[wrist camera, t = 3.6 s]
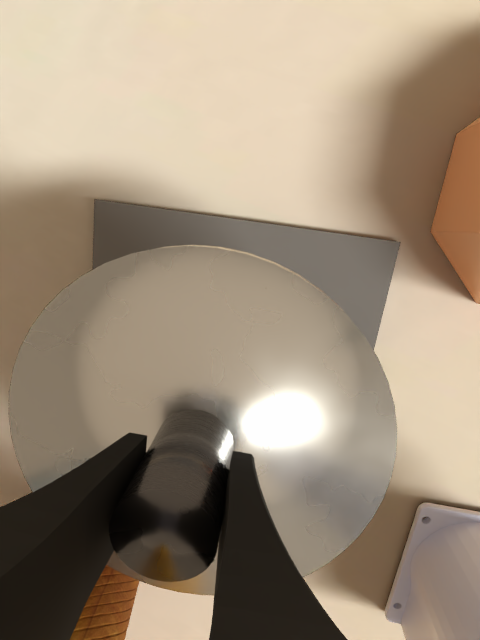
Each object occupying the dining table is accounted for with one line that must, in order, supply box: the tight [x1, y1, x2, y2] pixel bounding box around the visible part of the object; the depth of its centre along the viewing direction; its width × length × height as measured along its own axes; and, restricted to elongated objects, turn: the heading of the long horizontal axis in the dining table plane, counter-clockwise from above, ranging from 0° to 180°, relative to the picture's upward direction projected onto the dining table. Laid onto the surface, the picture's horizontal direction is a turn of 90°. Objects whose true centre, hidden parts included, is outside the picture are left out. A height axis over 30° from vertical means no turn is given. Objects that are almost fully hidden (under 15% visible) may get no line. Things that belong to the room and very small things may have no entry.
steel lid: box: [9, 245, 397, 595], centre depth 11 cm, size 14×14×5 cm
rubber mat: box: [93, 199, 400, 351], centre depth 21 cm, size 16×16×1 cm
